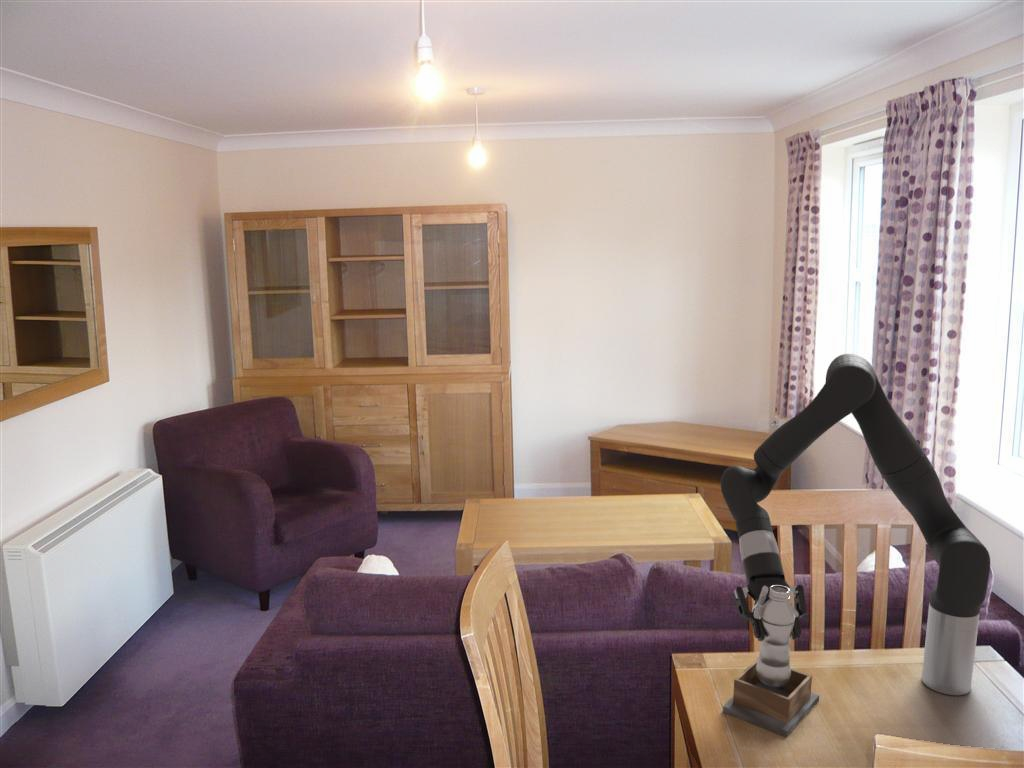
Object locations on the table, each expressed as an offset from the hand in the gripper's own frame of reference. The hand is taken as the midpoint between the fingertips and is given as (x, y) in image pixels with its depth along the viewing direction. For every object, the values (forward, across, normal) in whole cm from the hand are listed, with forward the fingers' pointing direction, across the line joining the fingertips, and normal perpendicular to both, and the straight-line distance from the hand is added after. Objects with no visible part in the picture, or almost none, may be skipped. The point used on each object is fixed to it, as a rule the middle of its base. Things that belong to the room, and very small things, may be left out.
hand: (779, 638), depth 168 cm
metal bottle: (+6, 0, +9) cm, 11 cm away
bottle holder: (+10, 0, +12) cm, 15 cm away
